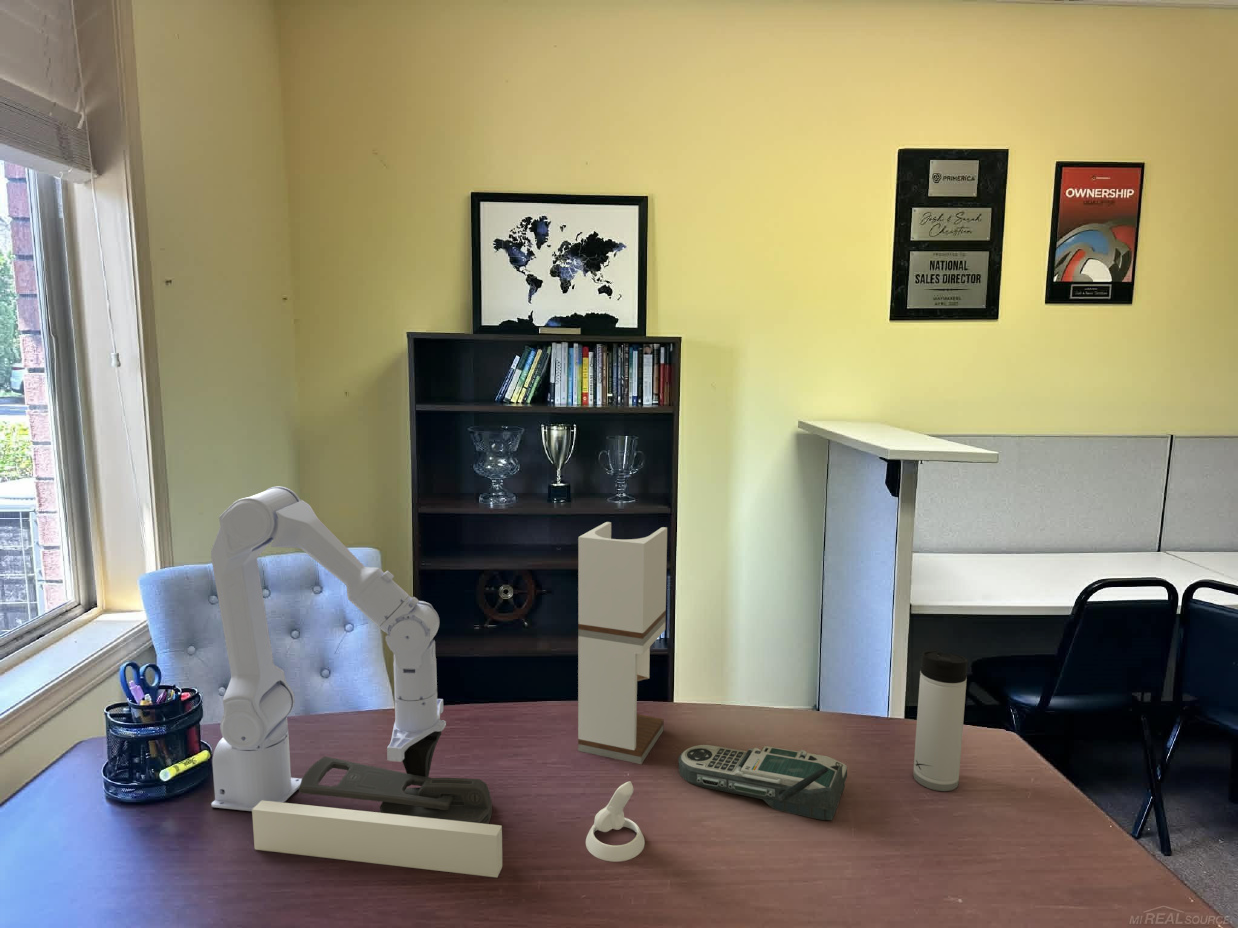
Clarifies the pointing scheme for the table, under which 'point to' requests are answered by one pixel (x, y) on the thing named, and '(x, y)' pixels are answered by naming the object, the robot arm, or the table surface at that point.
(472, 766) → the table surface
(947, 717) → the travel mug
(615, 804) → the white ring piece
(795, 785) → the communication device
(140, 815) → the table surface
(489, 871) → the cream rectangular bar
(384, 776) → the zipper pull
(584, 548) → the white square tower
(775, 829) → the table surface
